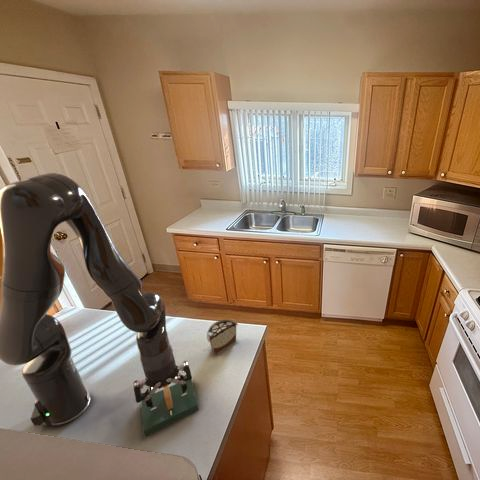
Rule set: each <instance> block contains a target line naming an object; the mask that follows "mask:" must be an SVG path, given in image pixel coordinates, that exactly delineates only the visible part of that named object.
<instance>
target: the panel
mask: <svg viewBox="0 0 480 480" xmlns="http://www.w3.org/2000/svg"><path fill="white" fill-rule="evenodd" d="M186 385H187V390H185V393H183V391H182V387H181V384H179V383H178V384H175V383H174V384H172V385H169V389H170V392H171V398H172V404H173V408H171V409H169V410H168V409H167V405H166V402H165V397H164V390H163V389H161V390H159V391H155V393H154V394H153V395H152V396H151V397H152V400H153V407H152V408H150V407H147V405H146V402H145V400H142V401H141V415H142V416H141V417H142V418H141V419H142V433H143V435H144V437H147V436H149V435H151V434H153V433H155V432H156V431H158V430H161V429H162V428H164V427H167V426H169V425H171V424H172V423H175V422H177V421H179V420H180V419H182V418H185V417H186V416H188V415H190V414H192V413H194V412H196V411H198V410H199V404H198V400H197V397H196V393H195V389H194V384H193V380H192V379H191V380H188V381H187V382H186Z"/></svg>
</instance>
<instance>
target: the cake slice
mask: <svg viewBox="0 0 480 480" xmlns="http://www.w3.org/2000/svg"><path fill="white" fill-rule="evenodd" d="M237 326H238V323H237V321H236V320H234V319H229V318H227V319H225V318H224V319H221V320H218V321H216V322H214V323H213V324H211V325H210V326H209V328H208V330H207V332H206V340H207V342H208V343H209V344H210V348H211V351H212V353H213V356H215V357H216V356H218V354H220V353H222V352H223V351H225V350H227V349H228V348H230V347H231V346H233V345H235V344H236V343H237Z"/></svg>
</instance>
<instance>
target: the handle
mask: <svg viewBox="0 0 480 480" xmlns="http://www.w3.org/2000/svg"><path fill="white" fill-rule="evenodd" d="M169 387H170V384H169V385H166V386H164V387H162V390H164V397H165V402H166V405H167V409H168V410H169V409H171V408H173V404H172V398H171V392H170V389H169Z"/></svg>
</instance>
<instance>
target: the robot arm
mask: <svg viewBox="0 0 480 480" xmlns="http://www.w3.org/2000/svg"><path fill="white" fill-rule="evenodd" d="M63 223H66V225H68V226H69V228H71V230H72V231H73V233H74V234H75V236H76V238H77V240H78V243H79V244H80V248H81V252H82V256H83V261H84V265H85V268H86V271H87V273H88V275H89V277H90V278H91V280H92V281H93V282H94V284H95V285H96V286H97V287H98V288H99V289H100V290H101V291H102V292H103V294H105V296H106V297H108V298H109V300H110V302H111V304H112V306H113V308H114V310H115V312H116V314H117V317H118V318H119V320H120V322H121V323H122V324H123V325H124V327H126V328H127V329H128V330H129V331H132V332H133V333H136V336H135V341H136V346H137V349H138V353H139V360H140V363H141V367H142V370H143V373H144V376H145V379H143V380H141V381H139V380H138V379H137V380H134V381H133V393H134V397H135V402H136V403H137V404H139V403H142V400H145V402H146V405H147V407H150V408H152V407H153V400H152V397H151V396H152V395H153V394H154V393H156V392H157V390H160V389H163V387H164V386H166V385H169V386H170V385H171V384H174V385H175V384H178V383H179V384H181V387H182V391H183V393H185V390H187V385H186V382H187V381H188V380H192V379H193V376H192V371H191V368H190V365H189V362H188V360H184V361H183V362H182V364H180V365H177V363H176V360H175V356H174V350H173V347H172V345H171V342H170V338H169V334H168V331H167V322H166V321H167V318H166V317H167V315H166V305H165V302H164V300H163V298H162V296H160V295H159V294H157V293H155V292H149V291H148V292H147V291H146V292H143V283H142V280H141V278H140V277H139V276H138V275H137V274H136V273H135V271H134V270H133V269H132V267H131V266H130V265H129V264H128V263H127V261H126V260H125V259H124V258H123V256H122V255H121V253H120V252H119V250H118V248H117V247H116V246H115V244H114V243H113V241H112V239H111V237H110V235H109V233H108V231H107V230H106V228H105V226H104V223H103V222H102V220H101V219H100V217H99V216H98V213H97V212H96V209H95V208H94V206H93V204H92V203H91V200H90V199H89V197H88V195H87V194H86V193H85V191H84V190H83V188H82V187H81V186H80V185H79V184H78V183H77V182H76V181H74V180H73V179H72V178H70V177H68V176H67V175H65V174H61V173H57V172H48V173H43V174H37V175H34V176H31V177H28V178H24V179H21V180H18V181H14V182H11V183H9V184H7V185H5V186H4V187H2V188H1V189H0V235H1V243H2V272H1V286H0V287H1V288H0V290H1V291H0V292H1V302H0V361H1V362H3V363H5V364H6V365H10V366H21V365H24V366H23V367H22V371H21V375H22V377H23V379H24V381H25V382H26V384H27V386H28V388H29V389H30V391H31V393H32V395H33V396H34V398H35V401H34V403H33V405H34V408H33V410H32V414H31V415H30V416H31V417H30V421H31V423H32V424H33V426H34V427H37V426H39V427H40V426H42V424H45V426H46V427H47V428H48V427H51V426H57V427H58V426H63V425H66V424H68V423H70V422H73V421H74V420H76V419H77V418H78V417H80V416H81V415H83V413H85V411H87V409H88V408H89V407H90V404H91V401H92V399H91V396H90V390H88V389H87V388H86V386H85V383H84V381H83V379H82V378H81V377H82V376H81V375H80V373H79V370H78V368H77V366H76V364H75V361H74V360H73V357H72V353H73V351H72V347H71V345H70V342H69V339H68V336H67V333H66V330H65V327H64V325H62V323H61V322H60V320H58V319H57V318H56V317H54V316H53V315H51V314H48V313H49V311H50V310H51V309H52V307H53V306H54V305H55V303H56V302H57V301H58V299H59V298H60V296H61V294H62V291H63V288H64V283H65V277H66V276H65V275H66V268H65V265H64V263H63V262H62V261H61V259H60V258H59V257H58V256H57V255H56V254H54V253H53V252H52V251H51V250H52V249H51V245H52V244H51V243H52V238H53V235H54V232H55V230H56V229H57V227H58V226H59V225H61V224H63ZM180 371H181V372H183V373H185V375H184V374H181V373H180ZM144 386H147V388H146V389H145V391H143V392H142V390H143V388H144Z"/></svg>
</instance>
